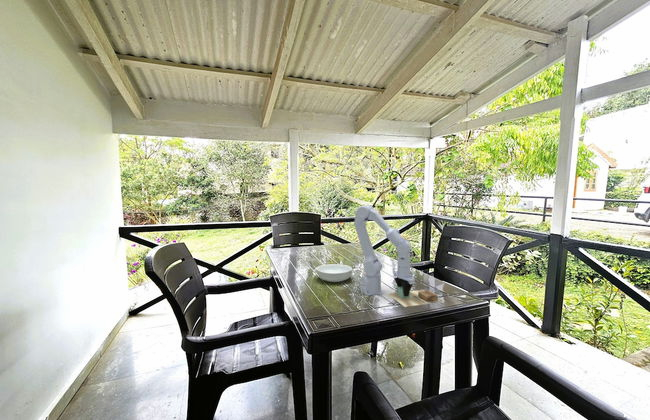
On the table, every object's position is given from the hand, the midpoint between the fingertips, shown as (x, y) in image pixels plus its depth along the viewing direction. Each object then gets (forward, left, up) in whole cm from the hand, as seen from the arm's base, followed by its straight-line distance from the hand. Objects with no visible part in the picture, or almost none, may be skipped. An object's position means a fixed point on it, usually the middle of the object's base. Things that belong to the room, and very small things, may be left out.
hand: (403, 294), depth 130 cm
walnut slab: (+9, -6, -1) cm, 11 cm away
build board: (+4, -3, -1) cm, 5 cm away
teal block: (0, 0, -1) cm, 1 cm away
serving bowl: (-24, +35, -2) cm, 42 cm away
